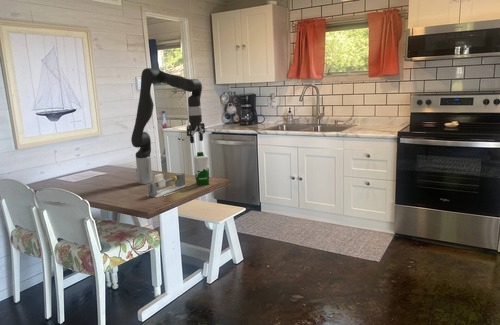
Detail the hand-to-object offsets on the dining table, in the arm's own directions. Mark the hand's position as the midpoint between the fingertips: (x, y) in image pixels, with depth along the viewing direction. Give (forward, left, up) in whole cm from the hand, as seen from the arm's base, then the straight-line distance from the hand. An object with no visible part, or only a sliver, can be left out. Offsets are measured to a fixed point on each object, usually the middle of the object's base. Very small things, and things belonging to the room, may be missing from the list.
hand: (196, 141), depth 230 cm
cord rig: (-17, -10, -29) cm, 35 cm away
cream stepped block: (-17, -16, -26) cm, 35 cm away
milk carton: (-7, +12, -29) cm, 32 cm away
